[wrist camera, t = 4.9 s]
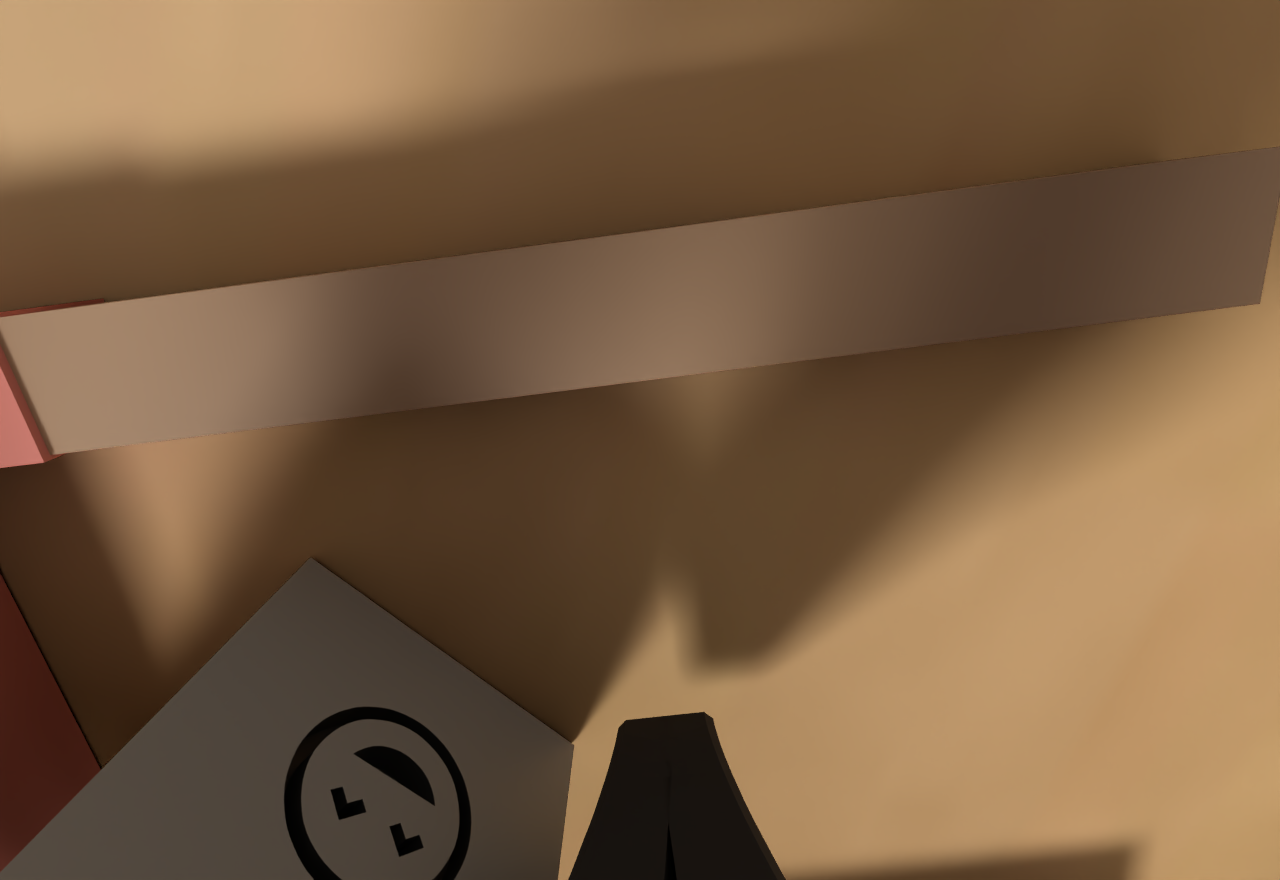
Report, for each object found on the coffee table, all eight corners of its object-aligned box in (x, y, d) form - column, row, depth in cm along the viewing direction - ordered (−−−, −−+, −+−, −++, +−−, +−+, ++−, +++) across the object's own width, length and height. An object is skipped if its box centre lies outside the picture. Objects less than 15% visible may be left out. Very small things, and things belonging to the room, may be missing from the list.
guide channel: (1165, 156, 7) (1490, 113, 5) (1062, 965, 12) (1195, 1196, 9) (-238, 344, 8) (-713, 407, 5) (165, 1046, 13) (27, 1287, 10)
